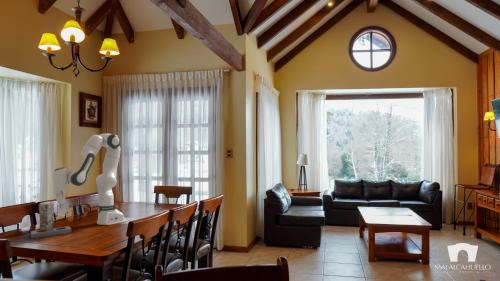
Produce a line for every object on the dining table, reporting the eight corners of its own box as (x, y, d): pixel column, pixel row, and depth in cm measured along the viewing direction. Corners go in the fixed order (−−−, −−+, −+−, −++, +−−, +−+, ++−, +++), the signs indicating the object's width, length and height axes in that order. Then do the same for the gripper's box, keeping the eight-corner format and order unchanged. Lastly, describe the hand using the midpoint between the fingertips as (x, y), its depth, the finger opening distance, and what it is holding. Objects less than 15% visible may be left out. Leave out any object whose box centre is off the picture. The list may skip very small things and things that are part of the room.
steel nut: (64, 214, 254) (64, 203, 254) (65, 215, 250) (64, 204, 250) (57, 215, 252) (57, 204, 252) (58, 216, 248) (57, 205, 248)
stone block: (49, 230, 257) (49, 203, 258) (38, 231, 256) (38, 204, 256) (54, 226, 270) (54, 200, 270) (44, 227, 269) (44, 201, 269)
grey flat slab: (69, 230, 258) (69, 225, 258) (71, 232, 250) (71, 228, 250) (30, 235, 244) (30, 230, 244) (31, 238, 236) (31, 233, 236)
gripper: (67, 191, 244) (68, 211, 244) (63, 188, 261) (64, 207, 261) (57, 192, 241) (57, 212, 241) (54, 189, 258) (54, 208, 258)
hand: (61, 209), depth 251 cm, fingers closed on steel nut, 4 cm apart
